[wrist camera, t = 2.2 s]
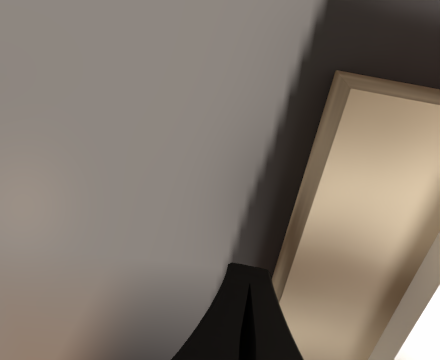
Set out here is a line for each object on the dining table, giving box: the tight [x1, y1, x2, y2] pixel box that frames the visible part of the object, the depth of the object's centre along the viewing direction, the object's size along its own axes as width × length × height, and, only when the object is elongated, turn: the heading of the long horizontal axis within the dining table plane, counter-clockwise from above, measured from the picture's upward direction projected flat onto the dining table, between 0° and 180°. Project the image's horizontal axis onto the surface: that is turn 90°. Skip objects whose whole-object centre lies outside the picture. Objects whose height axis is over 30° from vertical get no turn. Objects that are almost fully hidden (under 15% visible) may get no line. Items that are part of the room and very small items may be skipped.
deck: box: [272, 70, 440, 360], centre depth 14 cm, size 14×10×2 cm
